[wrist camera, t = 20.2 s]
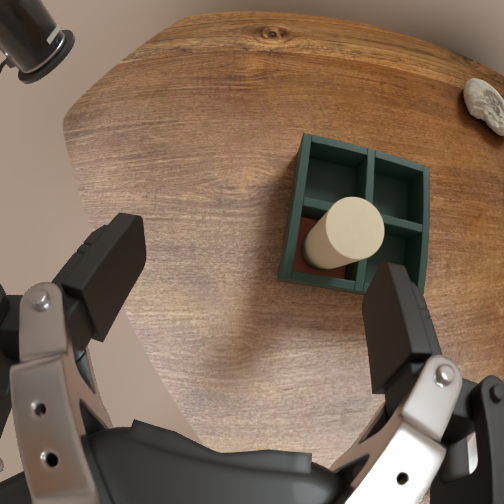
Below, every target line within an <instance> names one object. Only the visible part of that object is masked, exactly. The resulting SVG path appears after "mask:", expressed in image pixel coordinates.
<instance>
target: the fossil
mask: <svg viewBox="0 0 504 504" xmlns="http://www.w3.org/2000/svg"><path fill="white" fill-rule="evenodd" d="M463 92H464V100H465V104H466V106H467V109H468V111H469V112H470V114H471V115H472V116H474V117H476V118H477V119H482V120H483V121H485V122H486V123H487V125H488V126H489V127H490V128H491V129H492V130H493V131H494V132H495V133H497V134H498V135H500V136H504V100H503V99H502V97H501V96H500V95H499V93H498V92H497V91H496V90H495V89H494V88H493V87H492V86H491V85H489V84H488V83H486V82H485V81H483V80H480V79H476V78H472V79H469V80H468V81H467V82H466V83H465V85H464V91H463Z"/></svg>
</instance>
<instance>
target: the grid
mask: <svg viewBox="0 0 504 504" xmlns="http://www.w3.org/2000/svg"><path fill="white" fill-rule="evenodd" d="M346 197H358V198H362V199H364V200H366V201H368V202H370V203H371V204H372V205H373V206H374V207H375V208H376V209H377V210H378V212H379V213H380V215H381V217H382V220H383V223H384V238H383V242H382V244H381V246H380V248H379V249H378V250H377V252H376V253H374V254H373V255H372V256H370V257H368V258H366V259H362V260H359V261H356V262H353V263H350V264H346V265H343V266H340V267H336V268H333V269H330V270H326V271H318V270H315V269H312V268H311V267H309V266H308V265H307V264H306V263H305V261H304V260H303V257H302V254H301V244H302V241H303V239H304V237H305V236H306V235H307V234H308V233H309V231H310V230H311V229H312V228H313V227H314V226H315V225H316V224H317V223H318V221H319V220H320V219H321V218H322V217H323V216H324V215H325V214H326V212H327V211H328V210H329V209H330V208H331V207H332V206H333V205H334V204H335V203H336V202H337V201H339V200H341V199H343V198H346ZM429 219H430V180H429V167H427V166H424V165H421V164H418V163H415V162H412V161H409V160H406V159H402V158H399V157H396V156H393V155H390V154H386V153H383V152H379V151H376V150H372V149H367V148H365V147H361V146H357V145H353V144H349V143H345V142H341V141H337V140H333V139H329V138H324V137H320V136H315V135H310V134H305V133H304V134H303V137H302V140H301V144H300V147H299V150H298V155H297V162H296V168H295V175H294V182H293V188H292V194H291V201H290V207H289V213H288V219H287V226H286V232H285V238H284V243H283V249H282V255H281V261H280V267H279V272H278V278H277V280H280V281H286V282H291V283H297V284H303V285H309V286H314V287H320V288H326V289H332V290H338V291H344V292H350V293H357V294H363V295H365V293H366V291H367V289H368V287H369V285H370V283H371V281H372V279H373V277H374V275H375V273H376V271H377V269H378V267H379V265H380V264H381V263H382V262H383V261H385V262H390V263H395V264H400V265H404V266H405V268H406V270H407V273H408V276H409V278H410V281H411V282H414V283H415V284H416V286H417V287H418V288H419V290H420V291H421V292H422V294H424V286H425V277H426V268H427V256H428V242H429Z"/></svg>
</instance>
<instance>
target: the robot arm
mask: <svg viewBox="0 0 504 504" xmlns="http://www.w3.org/2000/svg"><path fill="white" fill-rule="evenodd" d="M60 29H61V27H60V26H59V24H58V25H57V24H56V22H55V21H54V19H53V18H52V16H51V15H50V14H49V12H48V11H47V9H46V8H45V6H44V5H43V3H42V2H41V0H0V50H1V51H2V52H3V53H4V54H5V56H6V57H7V58H6V59H5V60H4V61H3V62H2V63H1V65H0V73H1V70H2V68H3V66H4V65H5V64H7V65H8V66H9V67H10V68H13V67H15V66H16V67H17V68H18V69H19V70H20V71H22V72H23V73H24V74H26V75H30V74H33V73H35V72H37V71H39V70H41V69H42V68H43V67H45V66H46V65H47V64H48V63H50V62H51V61H52V60H53V59H54V58H55V57H56V56H57V55H58V53H59V52H60V51H61V50H62V48H63V47H64V45H65V43H66V36H65V35H64V33H63V32H62V31H61V30H60ZM145 262H146V245H145V236H144V226H143V219H142V217H141V216H138V215H132V214H126V213H119V214H117V215H116V217H115V218H114V219H113V220H112V221H111V222H110V223H109V224H108V225H103V226H102V227H100V228H99V229H97V230H95V231H94V232H92V233H91V234H90V236H89V237H88V238H87V239H86V240H85V241H84V244H83V245H81V246H80V247H79V248H78V249H77V252H75V253H74V254H73V255H72V257H71V258H70V259H69V260H68V262H67V263H66V264H65V265H64V267H63V268H62V269H61V270H60V272H59V273H58V274H57V275H56V277H55V278H54V279H53V281H52V282H43V283H39V284H36V285H34V286H32V287H31V288H30V289H28V290H27V291H26V292H25V294H24V295H6V293H5V291H4V289H3V287H2V286H1V284H0V438H1V435H2V432H3V429H4V427H5V424H6V421H7V418H8V416H9V413H10V411H11V408H12V410H13V418H14V424H15V431H16V436H17V442H18V447H19V452H20V457H21V461H22V465H23V469H24V471H23V472H21V473H19V474H17V475H15V476H12V477H11V478H8V479H6V480H4V481H2V482H0V504H420V502H421V500H422V499H423V497H424V495H425V493H426V492H427V490H428V488H429V486H430V504H504V383H503V382H502V381H501V380H500V379H499V378H498V377H496V376H493V375H490V376H487V377H486V378H484V379H483V380H482V381H481V382H480V383H479V384H478V383H475V382H472V381H469V380H467V379H464V378H462V375H461V372H460V370H459V368H458V367H457V365H456V364H455V363H454V362H453V361H452V360H451V359H449V358H448V357H446V356H443V355H442V352H441V349H440V345H439V342H438V339H437V335H436V332H435V329H434V326H433V322H432V319H430V317H431V316H430V313H429V310H428V309H427V305H426V302H425V299H424V296H423V294H422V292H421V291H420V290H419V288H418V287H417V286H416V284H415V283H414V282H411V281H410V278H409V276H408V273H407V270H406V268H405V266H404V265H400V264H395V263H390V262H385V261H383V262H382V263H381V264H380V265H379V267H378V269H377V271H376V273H375V275H374V277H373V279H372V281H371V283H370V285H369V287H368V289H367V291H366V293H365V295H364V298H363V303H362V314H363V320H364V327H365V334H366V341H367V348H368V356H369V365H370V374H371V384H372V394H385V402H383V403H382V405H381V406H380V407H379V409H378V410H377V412H376V413H375V415H374V416H373V418H372V419H371V421H370V422H369V423H368V425H367V426H366V428H365V429H364V430H363V432H362V433H361V434H360V436H359V437H358V438H357V440H356V441H355V442H354V444H353V445H352V446H351V447H350V448H349V449H348V450H347V451H346V452H345V453H344V454H343V455H341V456H340V457H339V458H338V459H337V460H336V461H335V462H334V463H333V465H332V466H331V467H330V468H329V469H327V468H325V467H324V466H321V465H319V464H317V463H314V462H311V460H312V453H301V452H288V451H278V450H269V449H268V450H259V451H248V452H234V453H219V452H216V451H213V450H211V449H209V448H207V447H205V446H203V445H201V444H198V443H197V442H195V441H193V440H191V439H189V438H186V437H185V436H183V435H181V434H179V433H177V432H175V431H171V430H167V429H164V428H160V427H157V426H154V425H151V424H147V423H144V422H141V421H138V420H135V419H134V420H133V423H132V426H131V427H116V428H113V425H112V423H111V420H110V417H109V415H108V413H107V411H106V409H105V407H104V405H103V402H102V400H101V397H100V394H99V390H98V387H97V383H96V379H95V375H94V371H93V367H92V362H91V358H90V353H89V349H88V347H87V345H88V343H89V341H90V340H91V338H92V339H94V340H97V341H100V342H103V341H104V339H105V337H106V335H107V334H108V331H109V330H110V328H111V326H112V324H113V322H114V320H115V318H116V317H117V315H118V313H119V311H120V309H121V307H122V306H123V304H124V302H125V300H126V298H127V297H128V295H129V293H130V291H131V289H132V288H133V286H134V284H135V282H136V281H137V279H138V277H139V276H140V274H141V272H142V270H143V268H144V266H145ZM474 432H475V436H476V445H477V457H478V462H477V466H476V468H475V470H474V471H473V472H472V473H471V474H470V472H469V456H468V444H467V436H469V435H471V434H472V433H474ZM3 468H4V466H3V461H2V459H1V458H0V472H1V471H2V470H3Z"/></svg>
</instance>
